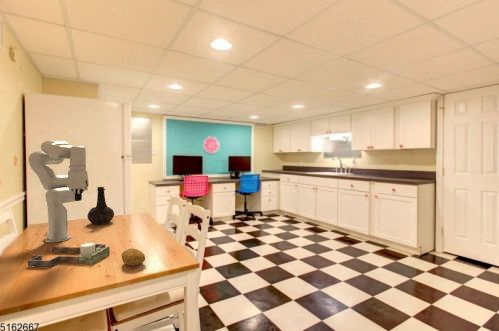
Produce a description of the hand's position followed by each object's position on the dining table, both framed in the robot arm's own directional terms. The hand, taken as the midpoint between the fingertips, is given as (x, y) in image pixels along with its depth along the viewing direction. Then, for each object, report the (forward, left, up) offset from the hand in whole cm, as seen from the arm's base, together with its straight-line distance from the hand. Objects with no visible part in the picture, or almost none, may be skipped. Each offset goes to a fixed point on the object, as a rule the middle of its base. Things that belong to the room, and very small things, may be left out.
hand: (78, 200), depth 147 cm
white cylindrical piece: (+17, -15, -27) cm, 35 cm away
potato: (+43, -20, -27) cm, 54 cm away
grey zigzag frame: (+8, -15, -26) cm, 31 cm away
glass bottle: (-21, +50, -27) cm, 60 cm away
